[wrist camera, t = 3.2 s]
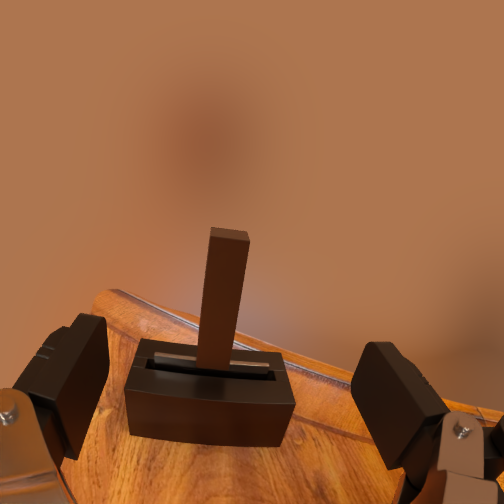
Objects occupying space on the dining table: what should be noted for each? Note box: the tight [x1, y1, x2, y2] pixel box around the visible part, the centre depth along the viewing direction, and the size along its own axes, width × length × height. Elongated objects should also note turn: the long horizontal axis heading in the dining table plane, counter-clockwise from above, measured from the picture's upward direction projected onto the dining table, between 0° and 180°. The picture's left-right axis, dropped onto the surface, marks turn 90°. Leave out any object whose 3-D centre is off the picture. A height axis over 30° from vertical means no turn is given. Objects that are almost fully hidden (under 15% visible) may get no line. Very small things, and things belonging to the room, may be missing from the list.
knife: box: [154, 227, 269, 381], centre depth 21 cm, size 2×8×15 cm, turn 96°
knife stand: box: [124, 338, 296, 447], centre depth 22 cm, size 6×11×5 cm, turn 96°
